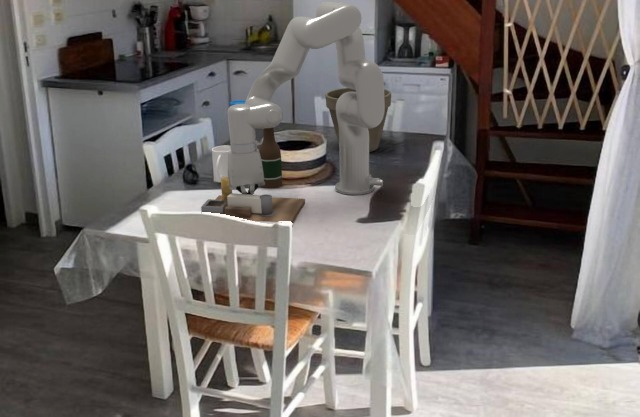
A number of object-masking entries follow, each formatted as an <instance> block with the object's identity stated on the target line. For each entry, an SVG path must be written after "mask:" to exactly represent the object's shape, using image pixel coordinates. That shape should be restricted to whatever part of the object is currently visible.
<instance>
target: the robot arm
mask: <svg viewBox="0 0 640 417" xmlns="http://www.w3.org/2000/svg"><path fill="white" fill-rule="evenodd" d="M362 18H363V17H362V13H361V10H360V9H359V8H358V7H357V6H355V5H354V4H353V3H347V2H340V1H331V0H329V1H328V0H327V1H323V2H321V3H320V4H319V5H318V6H317V7H316V11H315V17H310V16H302V15H301V16H296V17H293V18H292V19H291V20H290V21H289V23H288V24H287V27H286V29H285V30H284V33H283V36H282V38H281V40H280V42H279V45H278V47H277V49H276V51H275V53H274V55H273V58H272V60H271V62H270V64H268V66H267V67H265V69H263V71H262V72H261V73H260V74H259V75H258V77H256V79H255V80H254V82H253V83H252V85H251V88H250V89H249V92H248V94H247V97H246V99H245V104H236V105H232V106H230V105H229V107H228V109H227V112H226V113H227V121H228V122H227V124H228V133H229V144H230V145H229V146H231V151H229V152H228V178H229V189H230V190H232V191H237V192H239V194H249V195H255V192H256V190H257V189H258V188H262V187H261V186H263V185H265V182H264V174H263V166H262V161H261V156H260V152H259V148H258V147H260V146H261V144H262V141H261V140H260V141H259V140H257V135H256V134H257V133H256V129H264V128H272V127H273V128H275V127H277V126H279V125H280V123H281V122H282V120H283V114H284V113H283V111H282V108H281V107H280V106H279V105H278V104H276V103H274V102H272V101H271V99H272V97H273V96H274V94H275V92H276V90H278V88H279V87H281V85H283V84H284V83H286V82H288V81H291V80H292V79H294V78H296V77H297V76H299V74H300V71H301V69H302V67H303V64H304V62H305V60H306V57H307V55H308V53H309V52H310V50H319V49H322V48H325V47H327V46H330V45H332V44H333V43H335V48H336V60H337V75H338V81H339V83H340V84H341V86H342V87H344V88H350V89H353V90H356V92H346V93H344V94H342V95H341V96H340V97H339V99H338V100H337V103H336V115H337V120H338V127H339V143H338V144H339V145H338V147H339V148H338V149H339V150H338V152H339V154H338V156H339V161H338V162H339V181H338V182H337V183H336V184H335V186H334V190H335V191H336V192H338V193H340V194H343V195H347V196H348V195H351V196H356V195H364V194H370V193H371V192H372V191H373V190H375V186H378V187H379V186H380V187H381V186H382V187H383V185H384V184H383V183H384V181H383V179H381V177H372V173H371V172H370V152H369V131H368V128H375V127H377V126H378V125H379V124H380V123H381V121H382V119H383V117H384V111H385V102H384V89H385V80H384V75H383V71H382V69H381V67H380V66H379V64H377V63H376V62H374V61H372V60H367V57H366V50H365V40H364V36H363V33H362V30H361V27H360V26H361V24H362ZM245 186H248V190H246V187H245Z"/></svg>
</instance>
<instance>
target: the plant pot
mask: <svg viewBox="0 0 640 417" xmlns="http://www.w3.org/2000/svg"><path fill="white" fill-rule="evenodd" d="M346 92H356V90H353V89H350V88H347V87H342V88H337V89H331V90H329V91H327V92H326V93H325V94H324V96H325V107H326V108H327V109H328V111H329V114H330V117H331V121H332V125H333V127H334V133H335V136H336V139H337V142H338V144H339V127H338V120H337V115H336V103H337V100H338V99H339V97H340V96H341V95H342V94H344V93H346ZM384 102H385V111H384V117H383V119H382V121H381V123H380V124H379V125H378V126H377V127H375V128H368V131H369V153H371V152H374V151H376V150H377V149H378V148H379V146H380V143H381V139H382V134H383V130H384V126H385V122H386V119H387V115H388V109H389V107H391V105H392V92H391V90H389V89H385V88H384Z"/></svg>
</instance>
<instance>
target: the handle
mask: <svg viewBox="0 0 640 417" xmlns="http://www.w3.org/2000/svg"><path fill="white" fill-rule="evenodd" d="M272 197H273V195H271V194H261V195H260V194H253V195H249V194H242V193H233V192H232V193H231V194H230V195H228V196H227V202H228V206H234V207H251V209H252V213H261V214H271V213H272V212H273V207H272Z"/></svg>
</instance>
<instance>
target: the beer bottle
mask: <svg viewBox="0 0 640 417" xmlns="http://www.w3.org/2000/svg"><path fill="white" fill-rule="evenodd" d="M274 128H275V127H272V128H262V129H263V137H262V138H263V139H262V141H261V146H259V148H258V149H259V152H260V156H261V161H262V166H263V174H264V182H265V185H263V186H261V187H260V188H263V189H266V190H267V189H278V188H280V187H283V170H282V168H283V167H282V153H281V152H282V151H281V148H280V145H279V144H278V143H277V141H276V139H275V130H274Z"/></svg>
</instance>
